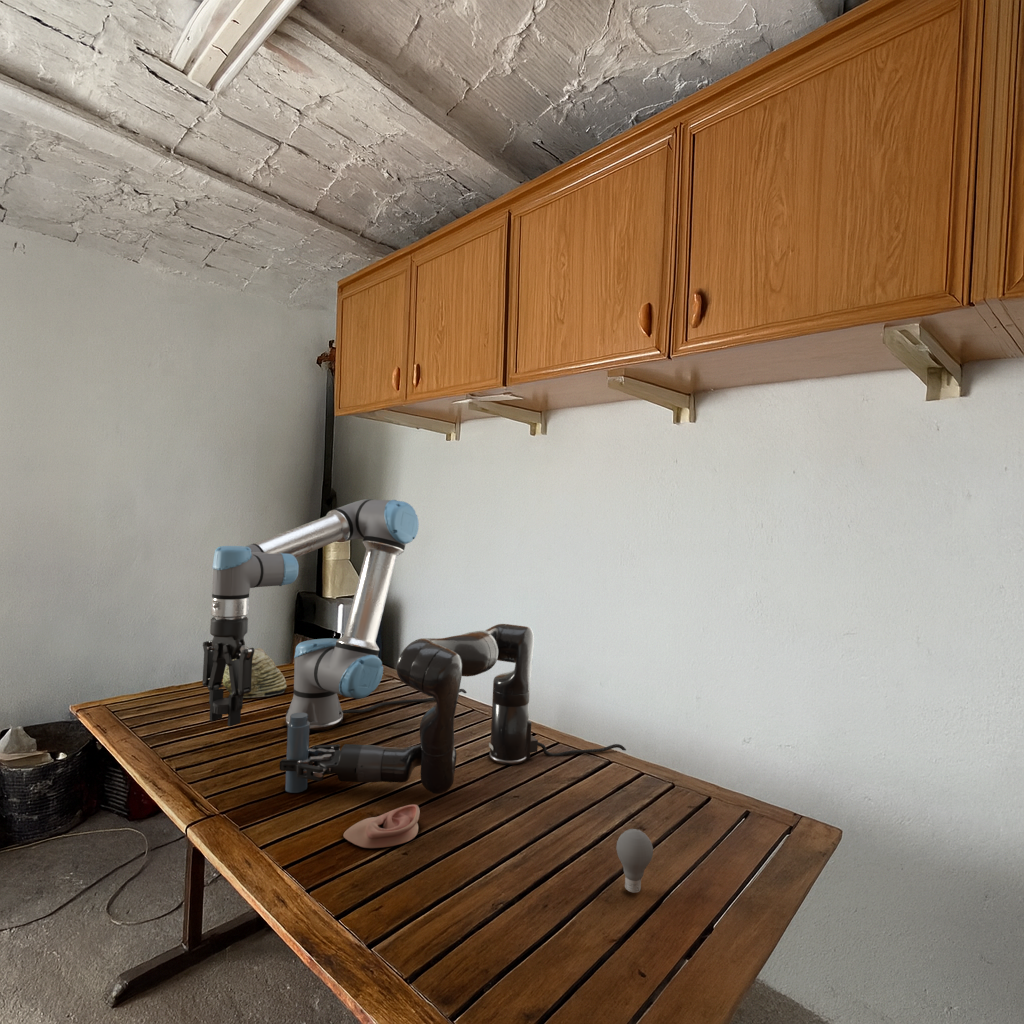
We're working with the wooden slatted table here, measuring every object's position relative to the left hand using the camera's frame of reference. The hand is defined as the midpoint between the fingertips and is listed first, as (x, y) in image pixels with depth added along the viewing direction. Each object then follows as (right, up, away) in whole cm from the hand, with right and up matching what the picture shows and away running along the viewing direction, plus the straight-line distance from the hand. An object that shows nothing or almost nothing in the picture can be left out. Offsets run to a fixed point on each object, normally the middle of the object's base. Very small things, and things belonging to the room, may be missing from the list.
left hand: (224, 721), depth 139 cm
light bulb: (+83, -17, -34) cm, 92 cm away
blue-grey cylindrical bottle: (+16, -14, -2) cm, 22 cm away
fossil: (-17, -11, +59) cm, 62 cm away
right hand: (+14, -7, -2) cm, 16 cm away
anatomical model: (+38, -15, -19) cm, 46 cm away
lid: (0, +4, 0) cm, 4 cm away
